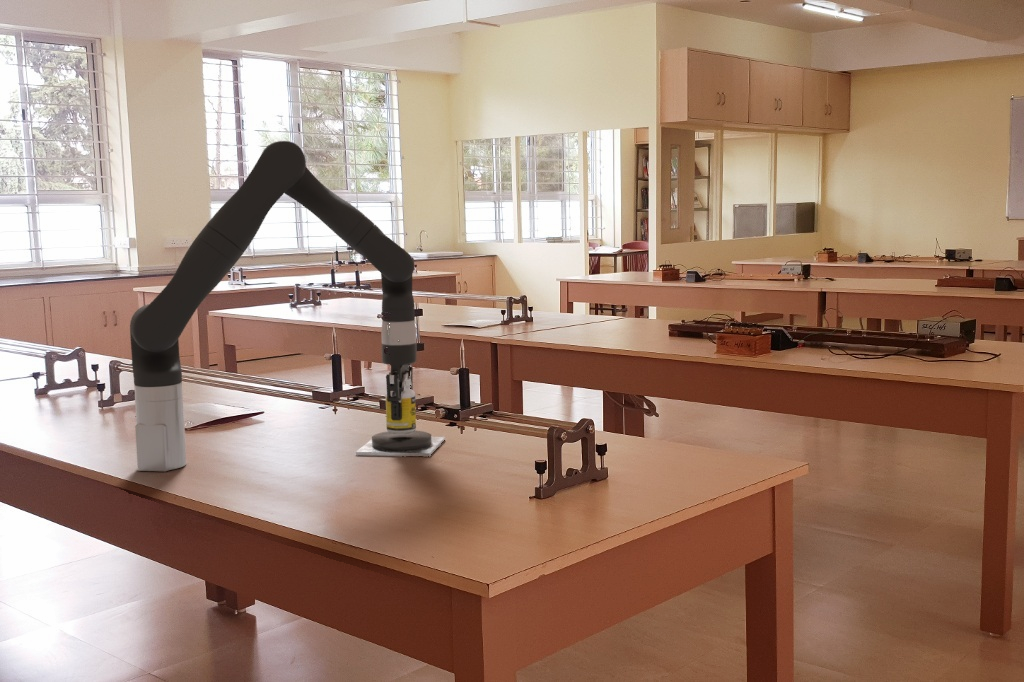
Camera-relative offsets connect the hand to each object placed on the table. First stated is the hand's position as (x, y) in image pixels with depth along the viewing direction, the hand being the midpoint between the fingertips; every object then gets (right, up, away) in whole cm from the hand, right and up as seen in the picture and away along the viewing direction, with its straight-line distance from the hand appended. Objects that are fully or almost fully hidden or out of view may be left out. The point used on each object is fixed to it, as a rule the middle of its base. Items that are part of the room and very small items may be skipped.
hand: (400, 416), depth 218 cm
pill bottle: (0, -3, 0) cm, 3 cm away
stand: (0, -7, +1) cm, 7 cm away
